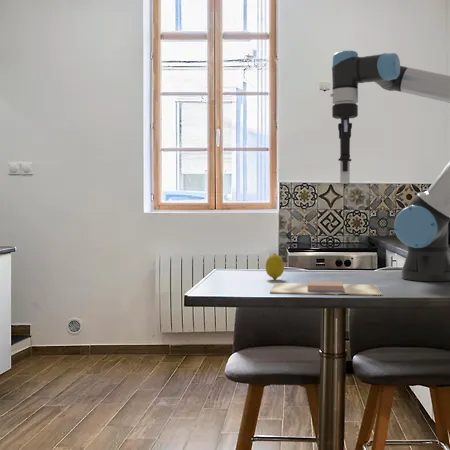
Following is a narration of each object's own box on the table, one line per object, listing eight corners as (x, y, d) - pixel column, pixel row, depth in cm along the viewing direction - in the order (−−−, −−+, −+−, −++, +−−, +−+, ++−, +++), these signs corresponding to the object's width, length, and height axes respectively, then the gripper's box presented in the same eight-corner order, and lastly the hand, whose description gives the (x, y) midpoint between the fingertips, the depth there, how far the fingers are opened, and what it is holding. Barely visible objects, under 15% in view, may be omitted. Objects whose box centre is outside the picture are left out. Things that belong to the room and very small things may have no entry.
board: (376, 286, 163) (376, 284, 163) (382, 295, 145) (382, 294, 145) (275, 284, 168) (275, 283, 168) (269, 293, 150) (269, 291, 150)
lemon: (282, 281, 175) (282, 254, 175) (264, 280, 177) (264, 254, 176) (284, 278, 181) (284, 253, 181) (266, 278, 182) (266, 252, 182)
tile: (342, 281, 158) (343, 285, 149) (342, 287, 158) (343, 292, 149) (308, 281, 159) (307, 285, 150) (308, 286, 159) (307, 291, 150)
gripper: (331, 108, 184) (331, 183, 184) (332, 100, 171) (332, 182, 172) (356, 107, 183) (356, 183, 183) (359, 100, 170) (358, 181, 170)
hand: (344, 182), depth 177 cm, fingers closed
